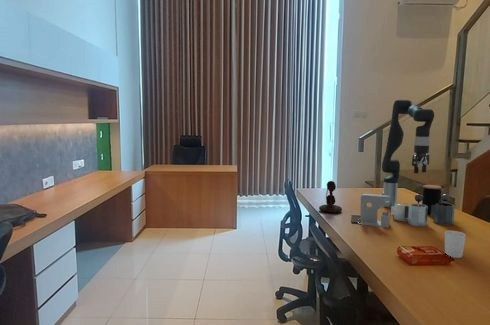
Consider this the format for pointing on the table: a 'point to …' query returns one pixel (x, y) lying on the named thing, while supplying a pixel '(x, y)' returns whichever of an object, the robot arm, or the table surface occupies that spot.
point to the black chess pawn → (330, 200)
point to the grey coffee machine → (374, 210)
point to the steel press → (416, 214)
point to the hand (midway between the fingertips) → (420, 172)
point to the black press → (443, 211)
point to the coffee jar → (431, 196)
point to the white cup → (454, 243)
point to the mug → (399, 211)
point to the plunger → (418, 199)
